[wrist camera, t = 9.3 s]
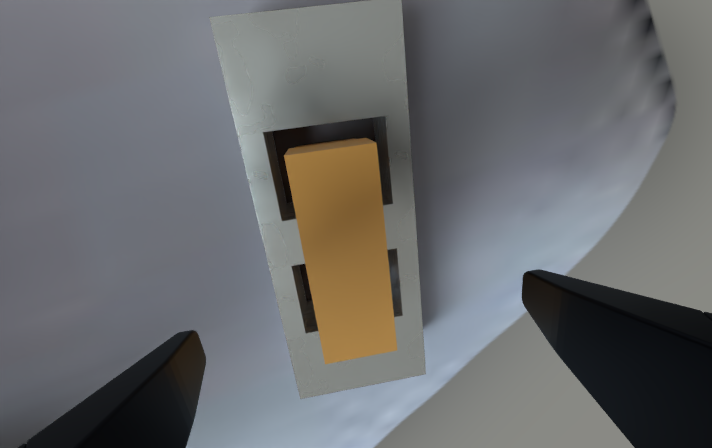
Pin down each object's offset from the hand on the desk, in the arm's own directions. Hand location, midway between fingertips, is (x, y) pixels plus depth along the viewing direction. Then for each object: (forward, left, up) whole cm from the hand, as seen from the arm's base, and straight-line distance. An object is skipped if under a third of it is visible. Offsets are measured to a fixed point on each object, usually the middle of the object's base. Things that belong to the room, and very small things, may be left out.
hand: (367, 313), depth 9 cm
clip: (0, 0, -9) cm, 9 cm away
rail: (0, 0, -9) cm, 9 cm away
